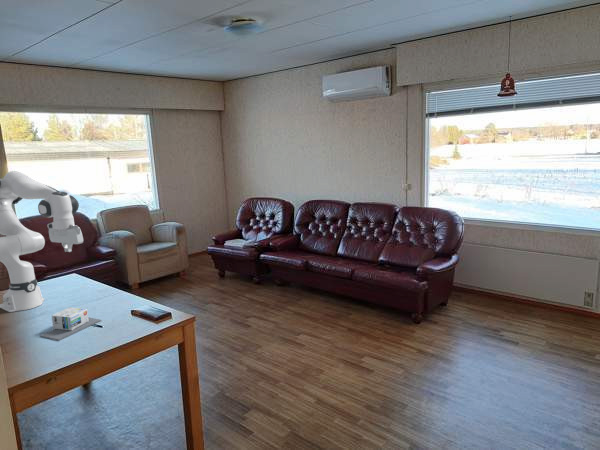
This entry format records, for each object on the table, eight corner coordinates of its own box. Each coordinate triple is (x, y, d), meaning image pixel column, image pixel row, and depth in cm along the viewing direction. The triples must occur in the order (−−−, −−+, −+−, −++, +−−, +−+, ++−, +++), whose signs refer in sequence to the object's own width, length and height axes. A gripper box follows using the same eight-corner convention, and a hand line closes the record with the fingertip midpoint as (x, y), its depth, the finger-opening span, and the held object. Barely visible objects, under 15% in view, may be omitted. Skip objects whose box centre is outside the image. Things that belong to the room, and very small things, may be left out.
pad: (40, 336, 187) (40, 335, 186) (83, 317, 206) (83, 316, 206) (58, 340, 182) (58, 339, 182) (101, 320, 201) (101, 319, 201)
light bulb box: (52, 329, 192) (71, 331, 189) (50, 315, 191) (69, 317, 188) (71, 319, 203) (89, 321, 200) (69, 306, 201) (87, 308, 198)
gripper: (84, 224, 207) (88, 251, 209) (56, 222, 215) (60, 248, 218) (73, 226, 201) (77, 254, 204) (44, 224, 210) (49, 251, 212)
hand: (68, 251), depth 211 cm, fingers closed
